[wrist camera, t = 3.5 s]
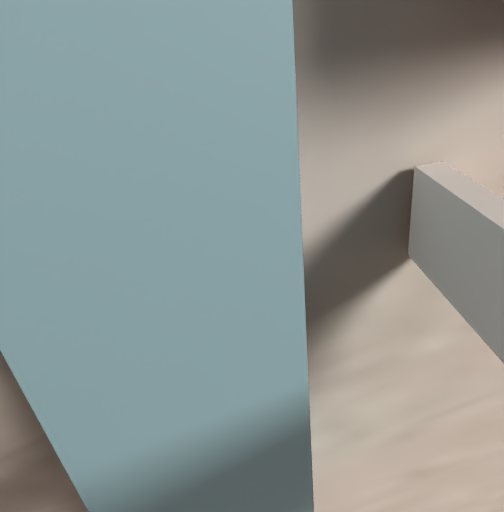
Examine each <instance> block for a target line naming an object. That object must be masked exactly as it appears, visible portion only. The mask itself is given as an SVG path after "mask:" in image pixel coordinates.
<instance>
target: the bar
mask: <svg viewBox="0 0 504 512" xmlns="http://www.w3.org/2000/svg"><path fill="white" fill-rule="evenodd" d="M0 351H1V353H2V355H3V356H4V358H5V360H6V362H7V364H8V365H9V367H10V369H11V371H12V373H13V375H14V376H15V378H16V380H17V382H18V384H19V386H20V387H21V389H22V391H23V393H24V395H25V397H26V398H27V400H28V402H29V404H30V406H31V408H32V409H33V411H34V413H35V415H36V417H37V419H38V420H39V422H40V424H41V426H42V428H43V430H44V431H45V433H46V435H47V437H48V439H49V441H50V442H51V444H52V446H53V448H54V450H55V452H56V453H57V455H58V457H59V459H60V461H61V463H62V464H63V466H64V468H65V470H66V472H67V474H68V475H69V477H70V479H71V481H72V483H73V485H74V486H75V488H76V490H77V492H78V494H79V496H80V497H81V499H82V501H83V503H84V505H85V507H86V508H87V510H88V512H314V502H313V478H312V454H311V431H310V407H309V383H308V360H307V336H306V312H305V288H304V265H303V241H302V217H301V193H300V170H299V146H298V122H297V98H296V75H295V51H294V27H293V3H292V0H0Z"/></svg>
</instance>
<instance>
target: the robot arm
mask: <svg viewBox="0 0 504 512" xmlns="http://www.w3.org/2000/svg"><path fill="white" fill-rule="evenodd" d="M408 255H409V256H410V258H411V259H412V260H413V261H414V262H415V263H416V264H417V266H418V267H419V268H420V269H421V270H422V271H423V272H424V274H425V275H426V276H427V277H428V278H429V279H430V280H431V281H432V283H433V284H434V285H435V286H436V287H437V288H438V289H439V291H440V292H441V293H442V294H443V295H444V296H445V297H446V299H447V300H448V301H449V302H450V303H451V304H452V305H453V306H454V308H455V309H456V310H457V311H458V312H459V313H460V314H461V316H462V317H463V318H464V319H465V320H466V321H467V322H468V324H469V325H470V326H471V327H472V328H473V329H474V330H475V331H476V333H477V334H478V335H479V336H480V337H481V338H482V339H483V341H484V342H485V343H486V344H487V345H488V346H489V347H490V349H491V350H492V351H493V352H494V353H495V354H496V355H497V356H498V358H499V359H500V360H501V361H502V362H503V363H504V198H502V197H500V196H499V195H497V194H495V193H494V192H492V191H490V190H489V189H487V188H486V187H484V186H482V185H481V184H479V183H477V182H476V181H474V180H472V179H471V178H469V177H468V176H466V175H464V174H463V173H461V172H459V171H458V170H456V169H454V168H453V167H451V166H449V165H448V164H446V163H445V162H443V161H441V162H436V163H430V164H424V165H418V166H415V167H414V180H413V194H412V207H411V220H410V233H409V247H408Z"/></svg>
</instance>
